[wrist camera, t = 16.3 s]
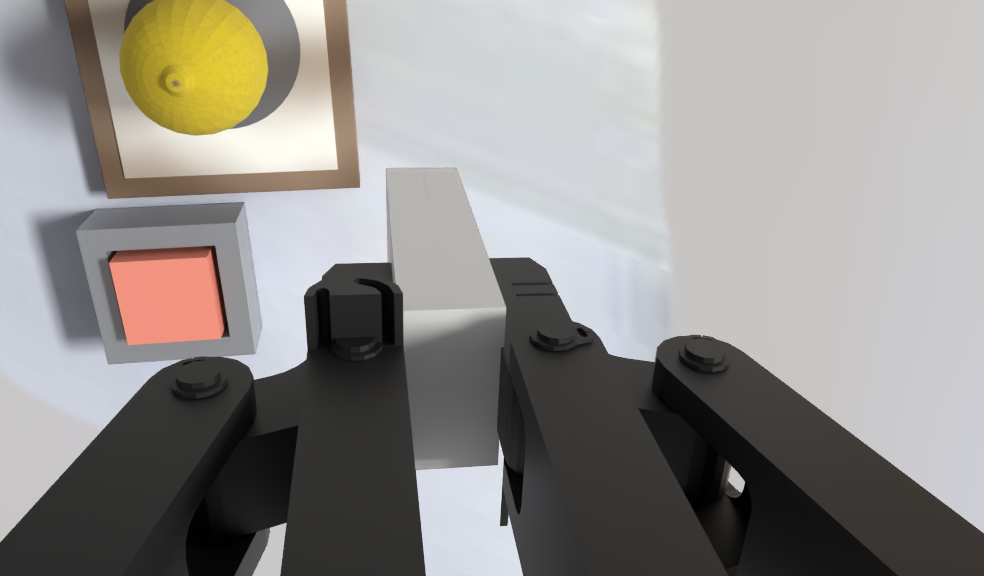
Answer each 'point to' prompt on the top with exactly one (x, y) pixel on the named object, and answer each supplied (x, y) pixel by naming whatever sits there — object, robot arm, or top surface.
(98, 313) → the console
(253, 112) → the board
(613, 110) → the top surface
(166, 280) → the button
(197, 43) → the lemon
